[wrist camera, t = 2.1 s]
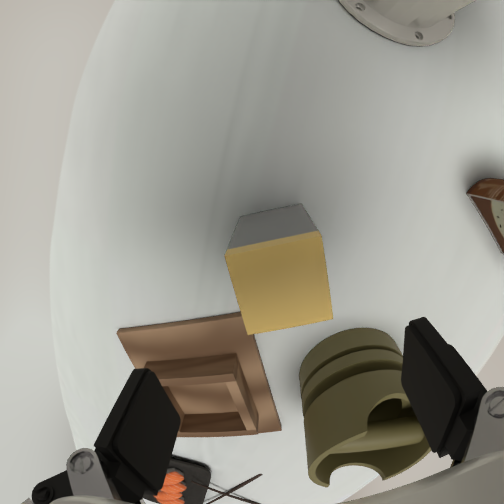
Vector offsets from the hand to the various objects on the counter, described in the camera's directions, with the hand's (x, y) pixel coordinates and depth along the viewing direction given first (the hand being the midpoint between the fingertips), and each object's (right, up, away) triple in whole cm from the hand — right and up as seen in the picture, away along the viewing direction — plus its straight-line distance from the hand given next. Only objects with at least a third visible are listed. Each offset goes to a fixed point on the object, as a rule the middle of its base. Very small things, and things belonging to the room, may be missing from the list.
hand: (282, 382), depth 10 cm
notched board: (-6, -10, +20) cm, 24 cm away
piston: (+10, -8, +19) cm, 23 cm away
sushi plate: (-9, -42, +33) cm, 54 cm away
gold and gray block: (+1, +6, +14) cm, 15 cm away
